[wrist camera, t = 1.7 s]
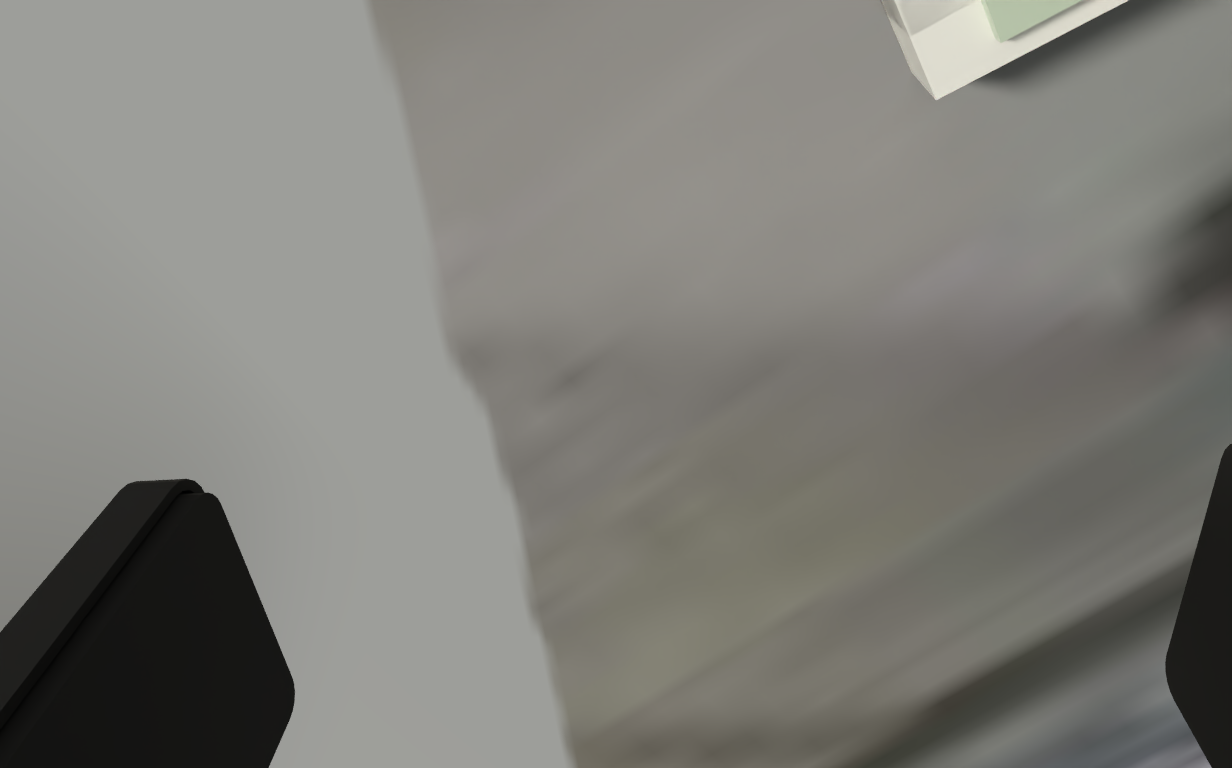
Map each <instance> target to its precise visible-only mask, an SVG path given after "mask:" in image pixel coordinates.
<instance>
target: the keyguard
mask: <svg viewBox="0 0 1232 768" xmlns="http://www.w3.org/2000/svg"><path fill="white" fill-rule="evenodd" d="M881 1H882V4H883V6H884V8H885V11H886V13H887V15H888V18H889V20H890V23H891V25H892V27H893V30H894V32H895V34H896V37H897V39H898V41H899V44H900V46H901V49H902V51H903V53H904V56H905V58H906V60H907V63H908V65H909V67H910V70H911V72H912V73H913V74H914V76H915V77H916V78H917V79H918V80H919V81H920V82H921V84H922V85H923V86H924V87H925V88H926V89H927V90H928V92H929V93H930V94H931V95H932V96H933V97H934V98H935V100H937V99H939V98H941V97H943V96H945V95H947V94H949V93H951V92H953V91H955V90H957V89H959V88H961V87H963V86H964V85H966V84H968V83H970V82H972V81H974V80H976V79H978V78H980V77H982V76H984V75H986V74H988V73H989V72H991V71H993V70H995V69H997V68H999V67H1001V66H1003V65H1005V64H1007V63H1009V62H1011V61H1013V60H1015V59H1016V58H1018V57H1020V56H1022V55H1024V54H1026V53H1028V52H1030V51H1032V50H1034V49H1036V48H1038V47H1040V46H1041V45H1043V44H1045V43H1047V42H1049V41H1051V40H1053V39H1055V38H1057V37H1059V36H1061V35H1063V34H1065V33H1067V32H1068V31H1070V30H1072V29H1074V28H1076V27H1078V26H1080V25H1082V24H1084V23H1086V22H1088V21H1090V20H1092V19H1093V18H1095V17H1097V16H1099V15H1101V14H1103V13H1105V12H1107V11H1109V10H1111V9H1113V8H1115V7H1117V6H1119V5H1120V4H1122V3H1124V2H1126V1H1128V0H881Z"/></svg>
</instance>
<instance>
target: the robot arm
mask: <svg viewBox="0 0 1232 768" xmlns="http://www.w3.org/2000/svg"><path fill="white" fill-rule="evenodd" d="M1165 663H1166V676H1167V682H1168V686H1169V689H1170V692H1171V694H1172V696H1173V699H1174V701H1175V703H1176V704H1177V706H1178V708H1179V710H1180V711H1181V713H1182V715H1183V717H1184V719H1185V720H1186V722H1187V724H1188V726H1189V728H1190V729H1191V731H1192V733H1193V735H1194V737H1195V738H1196V740H1197V742H1198V744H1199V746H1200V747H1201V749H1202V751H1203V753H1204V754H1205V756H1206V758H1207V760H1208V762H1209V763H1210V765H1211V767H1212V768H1232V444H1230V445H1229V446H1228V447H1227V448H1226V449H1225V451H1224V453H1223V456H1222V458H1221V462H1220V465H1219V469H1218V473H1217V476H1216V480H1215V483H1214V487H1213V491H1212V494H1211V498H1210V501H1209V505H1208V508H1207V512H1206V516H1205V519H1204V523H1203V526H1202V530H1201V534H1200V537H1199V541H1198V544H1197V548H1196V551H1195V555H1194V559H1193V562H1192V566H1191V569H1190V573H1189V576H1188V580H1187V584H1186V587H1185V591H1184V594H1183V598H1182V602H1181V605H1180V609H1179V612H1178V616H1177V619H1176V623H1175V627H1174V630H1173V634H1172V637H1171V641H1170V644H1169V648H1168V652H1167V656H1166V662H1165ZM294 697H295V689H294V682H293V679H292V676H291V674H290V671H289V669H288V666H287V664H286V661H285V659H284V656H283V654H282V651H281V649H280V647H279V644H278V642H277V639H276V637H275V634H274V632H273V629H272V627H271V625H270V622H269V620H268V617H267V615H266V612H265V610H264V608H263V605H262V603H261V600H260V598H259V595H258V593H257V591H256V588H255V586H254V583H253V581H252V578H251V576H250V574H249V571H248V569H247V566H246V564H245V561H244V559H243V556H242V554H241V552H240V549H239V547H238V544H237V542H236V540H235V537H234V535H233V532H232V530H231V527H230V525H229V522H228V520H227V518H226V515H225V513H224V510H223V508H222V506H221V503H220V502H219V500H218V498H217V497H216V496H214V495H213V494H210V493H204V491H203V489H202V487H201V486H200V485H199V484H198V483H196V482H195V481H193V480H189V479H176V480H158V481H157V480H156V481H136V482H133V483H130V484H127V485H126V486H125V487H124V488H122V489H121V490H120V491H119V492H118V494H117V495H116V496H115V497H114V498H113V499H112V501H111V502H110V503H109V504H108V506H107V507H106V508H105V509H104V510H103V511H102V513H101V514H100V515H99V516H98V517H97V519H96V520H95V521H94V522H93V523H92V524H91V525H90V527H89V528H88V529H87V530H86V531H85V533H84V534H83V535H82V536H81V537H80V539H79V540H78V541H77V542H76V543H75V544H74V546H73V547H72V548H71V549H70V550H69V552H68V553H67V554H66V555H65V556H64V558H63V559H62V560H61V561H60V562H59V564H58V565H57V566H56V567H55V568H54V569H53V571H52V572H51V573H50V574H49V575H48V576H47V578H46V579H45V580H44V581H43V582H42V584H41V585H40V586H39V587H38V588H37V589H36V591H35V592H34V593H33V594H32V596H31V597H30V598H29V599H28V600H27V601H26V603H25V604H24V605H23V606H22V607H21V609H20V610H19V611H18V612H17V613H16V615H15V616H14V617H13V618H12V619H11V620H10V622H9V623H8V624H7V625H6V626H5V627H4V629H3V630H2V631H1V632H0V768H269V765H270V763H271V761H272V759H273V756H274V754H275V752H276V749H277V747H278V745H279V743H280V740H281V738H282V736H283V733H284V731H285V729H286V727H287V724H288V722H289V720H290V717H291V714H292V711H293V706H294Z"/></svg>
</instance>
